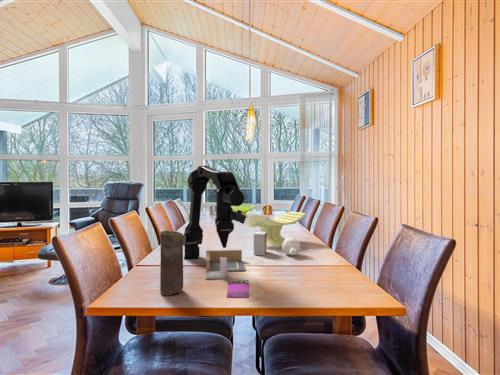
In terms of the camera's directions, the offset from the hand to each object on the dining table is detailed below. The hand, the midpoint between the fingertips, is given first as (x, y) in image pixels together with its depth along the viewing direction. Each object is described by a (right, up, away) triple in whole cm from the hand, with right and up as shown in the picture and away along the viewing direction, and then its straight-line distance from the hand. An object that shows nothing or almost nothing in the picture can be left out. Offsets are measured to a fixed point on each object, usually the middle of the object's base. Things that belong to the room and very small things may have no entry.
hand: (223, 245), depth 113 cm
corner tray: (-1, -12, +14) cm, 18 cm away
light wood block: (-3, -12, 0) cm, 13 cm away
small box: (+15, -12, +36) cm, 41 cm away
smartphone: (+6, -13, -13) cm, 19 cm away
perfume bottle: (+30, -12, +32) cm, 46 cm away
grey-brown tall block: (-16, -13, -16) cm, 25 cm away
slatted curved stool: (+26, -11, +59) cm, 65 cm away
